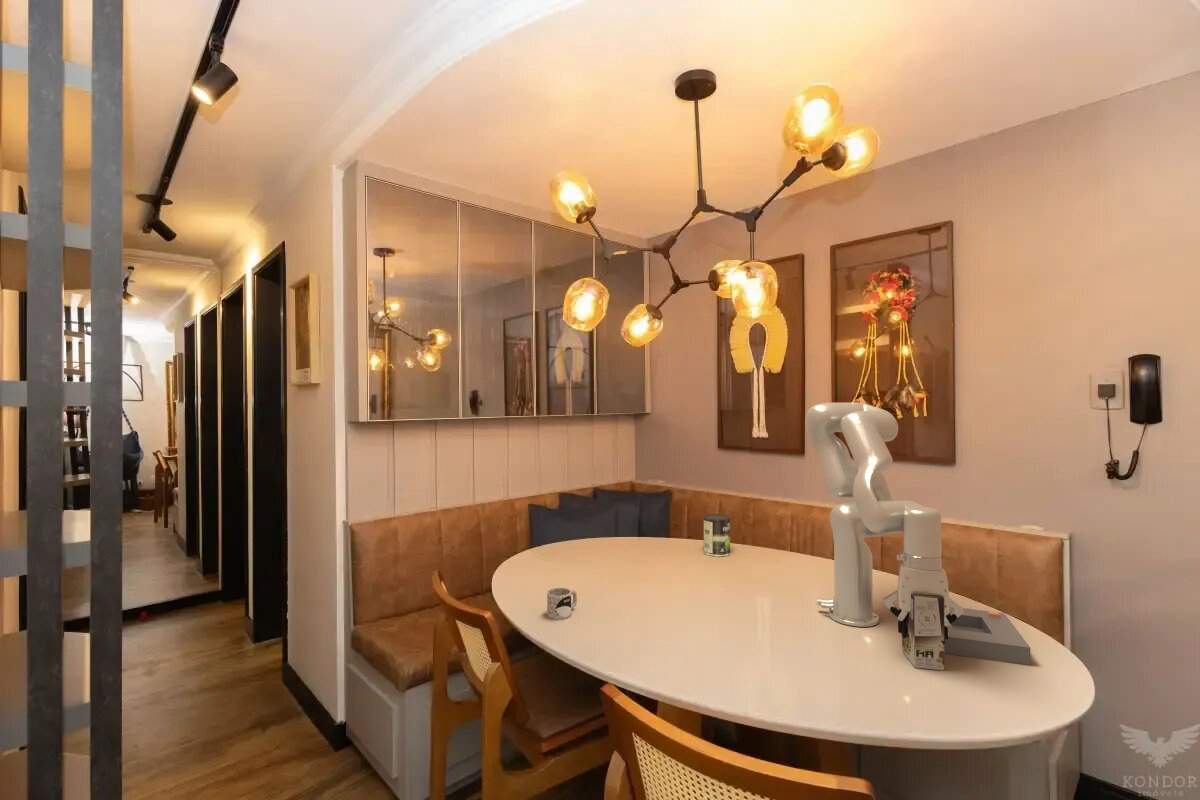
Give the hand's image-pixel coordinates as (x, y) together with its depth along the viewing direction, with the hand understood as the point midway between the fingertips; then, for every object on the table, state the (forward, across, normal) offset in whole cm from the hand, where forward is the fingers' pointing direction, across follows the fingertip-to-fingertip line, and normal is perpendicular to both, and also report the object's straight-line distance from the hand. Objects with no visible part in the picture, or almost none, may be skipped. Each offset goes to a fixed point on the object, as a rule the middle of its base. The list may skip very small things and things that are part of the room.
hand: (922, 638), depth 131 cm
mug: (+5, -89, -5) cm, 89 cm away
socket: (+5, +12, +17) cm, 21 cm away
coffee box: (+5, 0, 0) cm, 5 cm away
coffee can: (+5, -61, +72) cm, 95 cm away
